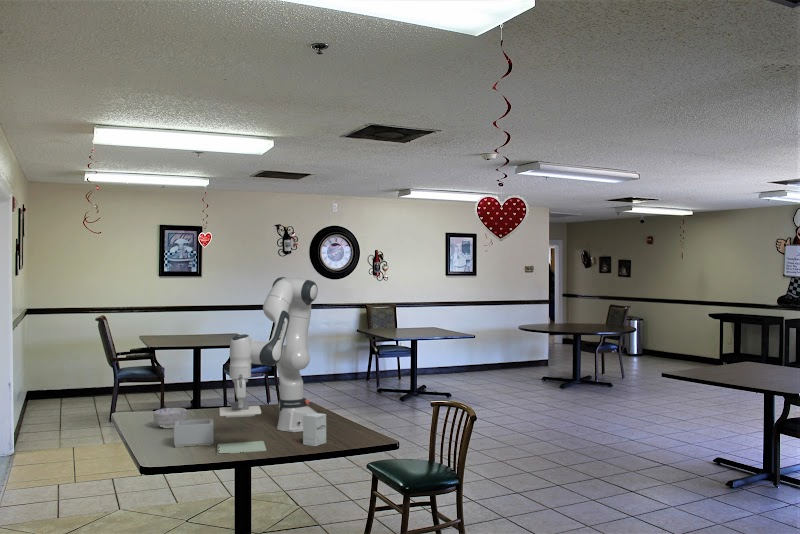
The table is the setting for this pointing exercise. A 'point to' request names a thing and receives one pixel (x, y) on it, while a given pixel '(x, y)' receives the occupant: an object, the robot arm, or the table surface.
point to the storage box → (194, 432)
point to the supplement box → (314, 429)
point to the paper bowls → (169, 416)
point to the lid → (240, 410)
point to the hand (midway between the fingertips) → (240, 406)
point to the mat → (242, 447)
